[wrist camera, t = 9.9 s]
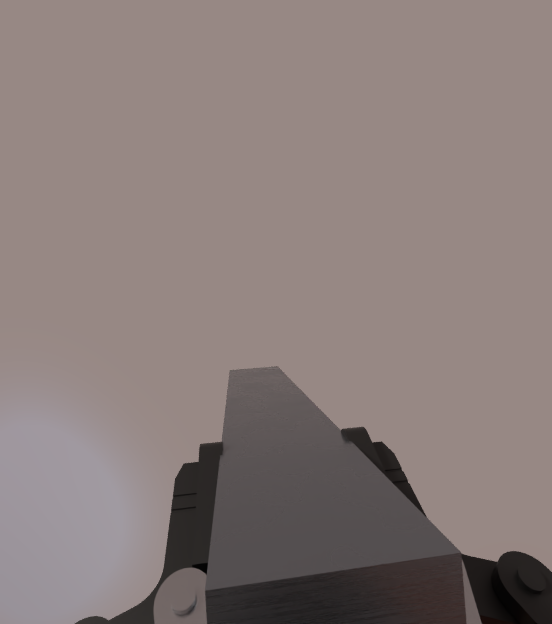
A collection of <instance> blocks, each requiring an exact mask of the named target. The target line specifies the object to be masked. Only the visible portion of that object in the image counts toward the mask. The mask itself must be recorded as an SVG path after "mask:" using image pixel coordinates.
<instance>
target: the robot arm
mask: <svg viewBox="0 0 552 624" xmlns="http://www.w3.org/2000/svg"><path fill="white" fill-rule="evenodd" d="M341 433H342V434H343V435H344V436H345V437H346V438H347V439H348V440H349V441H352V442H353V443H354V444H355V445H356V446H357V448H358V449H359V450H360V451H361V452H362V453H363V454H364V455H365V456H366V457H367V458H368V459H369V460H370V461H371V462H372V463H373V464H374V465H375V466H376V467H377V468H378V469H379V470H380V471H381V472H382V473H383V474H384V475H385V476H386V477H387V478H388V479H389V480H390V481H391V482H392V483H393V484H394V485H395V486H396V487H397V488H398V489H399V490H400V491H401V492H402V493H403V494H404V495H405V496H406V497H407V498H408V499H409V500H410V501H411V502H412V503H413V504H414V505H415V506H416V507H417V508H418V509H419V510H420V511H421V512H422V513H423V514H424V515H425V513H424V511H423V509H422V507H421V505H420V503H419V501H418V500H417V497H416V495H415V494H414V492H413V490H412V488H411V486H410V484H409V483H408V480H407V478H406V476H405V474H404V472H403V471H402V469H401V466H400V464H399V462H398V460H397V458H396V456H395V454H394V453H393V452H392V451H391V450H390V449H389V448H388V447H387V446H386V445H385V444H384V443H383V442H374V443H372V441H371V439H370V437H369V435H368V433H367V431H366V429H365V428H364V427H357V428H347V429H342V430H341ZM222 453H223V442H215V443H206V444H200V450H199V462H194V463H185V464H183V466H182V468H181V470H180V471H179V473H178V475H177V477H176V478H175V485H174V492H173V500H172V509H171V516H170V524H169V532H168V539H167V547H166V555H165V563H164V569H163V573H162V576H161V578H160V581H159V583H158V584H157V586H156V588H155V589H154V590H153V592H152V593H151V594H150V595H149V596H148V597H147V598H146V599H145V600H144V601H142V602H141V603H140V604H139V605H137V606H135V607H133V608H131V609H130V610H128V611H126V612H124V613H122V614H120V615H118V616H116V617H114V618H112V619H111V620H109V621H108V620H107V619H105V618H103V617H98V616H94V617H88V618H85V619H82V620H80V621H78V622H77V623H75V624H207V616H206V600H205V586H206V577H207V568H208V559H209V550H210V542H211V533H212V524H213V515H214V506H215V497H216V488H217V479H218V471H219V462H220V455H222ZM425 516H426V515H425ZM461 557H462V570H463V583H464V596H465V609H466V622H467V624H552V572H551V571H550V570H549V569H548V568H547V567H546V566H544V565H543V564H542V563H541V562H540V561H538V560H537V559H535V558H533V557H532V556H529V555H527V554H525V553H521V552H516V551H511V552H507V553H504V554H503V555H502V556H501V557H500V558H499V560H498V562H494V561H490V560H485V559H481V558H476V557H471V556H467V555H464V554H461Z"/></svg>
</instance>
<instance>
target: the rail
mask: <svg viewBox="0 0 552 624" xmlns="http://www.w3.org/2000/svg"><path fill="white" fill-rule="evenodd" d="M222 442H223V453H222V455H220V462H219V471H218V479H217V488H216V497H215V506H214V515H213V524H212V533H211V542H210V550H209V559H208V568H207V577H206V586H205V600H206V616H207V624H467V622H466V609H465V596H464V583H463V570H462V557H461V552H460V551H459V550H458V549H457V548H456V547H455V546H454V545H453V544H452V543H451V542H450V541H449V540H448V539H447V538H446V537H445V536H444V535H443V534H442V533H441V532H440V531H439V530H438V529H437V528H436V527H435V526H434V525H433V524H432V523H431V522H430V521H429V520H428V518H427V517H426V516H425V515H424V514H423V513H422V512H421V511H420V510H419V509H418V508H417V507H416V506H415V505H414V504H413V503H412V502H411V501H410V500H409V499H408V498H407V497H406V496H405V495H404V494H403V493H402V492H401V491H400V490H399V489H398V488H397V487H396V486H395V485H394V484H393V483H392V482H391V481H390V480H389V479H388V478H387V477H386V476H385V475H384V474H383V473H382V472H381V471H380V470H379V469H378V468H377V467H376V466H375V465H374V464H373V463H372V462H371V461H370V460H369V459H368V458H367V457H366V456H365V455H364V454H363V453H362V452H361V451H360V450H359V449H358V448H357V446H356V445H355V444H354V443H353V442H352V441H349V440H348V439H347V438H346V437H345V436H344V435H343V434H342V433H341V430H340V429H339V428H338V427H337V426H336V425H335V424H334V423H333V422H332V421H331V420H330V419H329V418H328V417H327V416H326V415H325V414H324V413H323V412H322V411H321V410H320V409H319V408H318V407H317V406H316V405H315V404H314V403H313V402H312V401H311V400H310V399H309V398H308V397H307V396H306V395H305V394H304V393H303V392H302V391H301V390H300V389H299V388H298V387H297V386H296V385H295V384H294V383H293V382H292V381H291V380H290V379H289V378H288V377H287V376H286V375H285V374H284V372H282V370H281V369H280V368H279V367H265V368H253V369H240V370H230V373H229V383H228V391H227V400H226V409H225V418H224V427H223V435H222Z"/></svg>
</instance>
